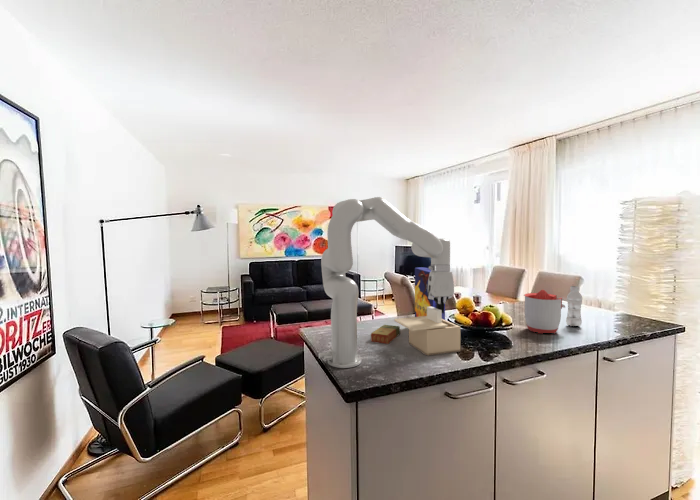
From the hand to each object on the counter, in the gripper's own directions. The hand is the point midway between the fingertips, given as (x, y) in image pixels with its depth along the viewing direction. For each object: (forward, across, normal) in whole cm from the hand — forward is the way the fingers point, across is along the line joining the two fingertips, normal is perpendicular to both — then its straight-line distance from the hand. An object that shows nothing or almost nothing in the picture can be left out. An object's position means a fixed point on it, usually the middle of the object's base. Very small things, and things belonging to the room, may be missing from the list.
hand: (440, 312), depth 141 cm
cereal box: (+15, +7, +20) cm, 26 cm away
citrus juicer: (+14, +59, +3) cm, 60 cm away
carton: (+15, -16, +19) cm, 29 cm away
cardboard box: (+14, -3, 0) cm, 15 cm away
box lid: (+4, -9, 0) cm, 10 cm away
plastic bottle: (+14, +79, +4) cm, 80 cm away
